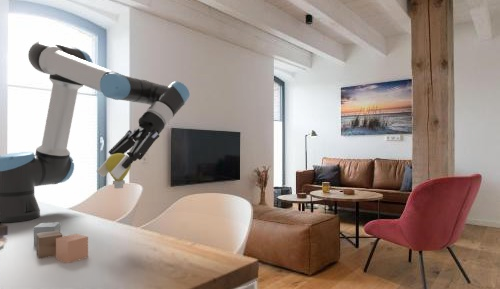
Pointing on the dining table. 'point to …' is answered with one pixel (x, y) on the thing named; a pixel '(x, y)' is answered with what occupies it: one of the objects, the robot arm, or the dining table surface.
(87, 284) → the dining table surface
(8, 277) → the dining table surface
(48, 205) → the dining table surface
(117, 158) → the light bulb
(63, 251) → the terracotta block
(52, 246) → the walnut block
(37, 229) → the slate grey block
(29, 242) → the dining table surface
